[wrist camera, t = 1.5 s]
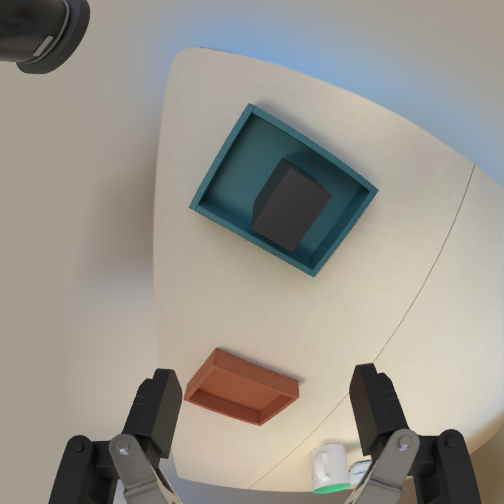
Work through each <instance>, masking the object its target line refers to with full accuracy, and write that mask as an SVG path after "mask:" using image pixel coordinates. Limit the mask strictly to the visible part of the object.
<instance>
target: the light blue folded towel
mask: <svg viewBox="0 0 504 504" xmlns="http://www.w3.org/2000/svg"><path fill="white" fill-rule="evenodd" d="M371 462H372V461H365V462H362V463H359V462H358V463H355V464H354V465H353V467H352V469H351V470H350V471H349V475H350V482H351V484H354V483H359V482H360V480H361V478H362V477H363V475H364V473H365V472H366V470H367V468H368V467H369V465H370V463H371Z"/></svg>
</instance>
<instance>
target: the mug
mask: <svg viewBox="0 0 504 504" xmlns="http://www.w3.org/2000/svg"><path fill="white" fill-rule="evenodd" d="M310 459H311V471H312V484H313V492H314V493H331V492H336V491H339V490H343V489H345V488H348V487H349V486H351V482H350V475H349V469H348V463H347V457H346V451H345V446H344V445H342V444H327V445H323V446H320V447H317V448H315V449H313V450H312V451H311V452H310Z"/></svg>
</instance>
